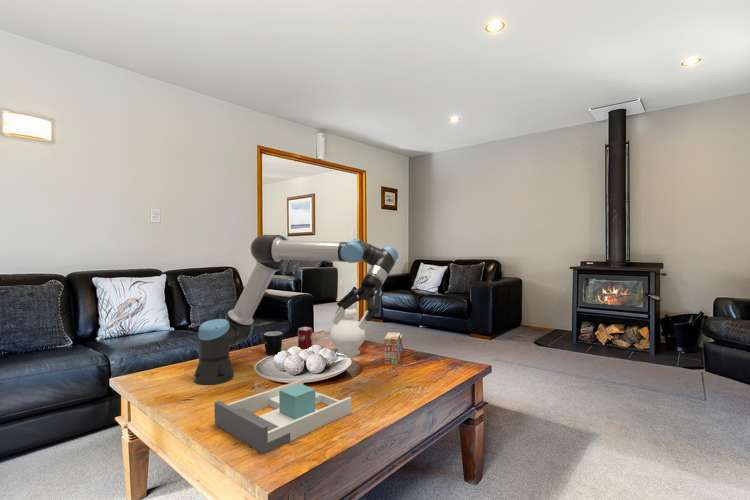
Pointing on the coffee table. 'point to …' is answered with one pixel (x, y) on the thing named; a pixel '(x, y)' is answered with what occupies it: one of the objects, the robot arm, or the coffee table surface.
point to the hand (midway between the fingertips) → (346, 325)
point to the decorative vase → (348, 334)
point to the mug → (273, 342)
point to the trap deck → (275, 419)
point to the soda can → (304, 337)
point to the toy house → (393, 348)
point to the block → (297, 401)
